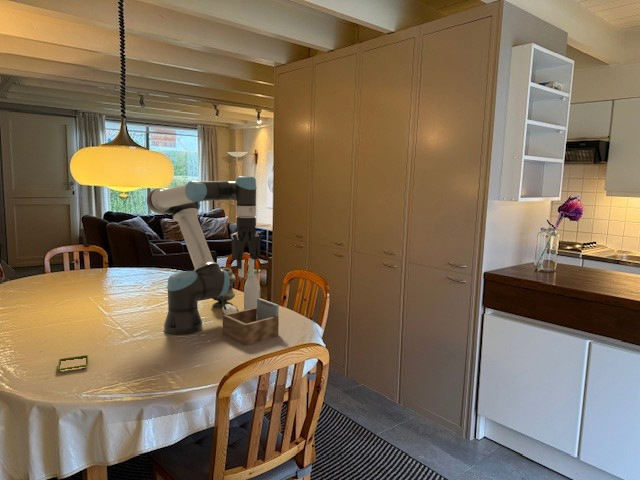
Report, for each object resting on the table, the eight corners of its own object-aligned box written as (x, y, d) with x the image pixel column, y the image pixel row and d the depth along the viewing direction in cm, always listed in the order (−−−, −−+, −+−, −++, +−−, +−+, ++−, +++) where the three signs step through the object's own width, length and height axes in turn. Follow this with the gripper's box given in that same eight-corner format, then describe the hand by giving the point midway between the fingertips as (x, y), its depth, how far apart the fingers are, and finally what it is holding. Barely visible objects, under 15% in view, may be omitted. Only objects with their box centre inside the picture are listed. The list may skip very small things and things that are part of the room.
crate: (245, 345, 166) (245, 325, 165) (222, 334, 178) (222, 315, 177) (278, 335, 177) (278, 316, 176) (255, 325, 189) (255, 307, 188)
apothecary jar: (227, 310, 209) (226, 273, 206) (205, 307, 213) (204, 271, 210) (239, 303, 220) (239, 268, 218) (218, 301, 224) (218, 266, 221)
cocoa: (237, 316, 200) (239, 291, 198) (240, 321, 195) (242, 296, 192) (216, 316, 196) (218, 291, 194) (218, 322, 191) (220, 296, 188)
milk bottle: (257, 314, 204) (257, 272, 201) (241, 313, 205) (241, 271, 202) (262, 309, 211) (262, 269, 208) (247, 308, 213) (247, 268, 210)
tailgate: (275, 329, 178) (275, 305, 177) (256, 321, 187) (256, 298, 186) (278, 328, 179) (278, 304, 178) (259, 320, 188) (259, 298, 187)
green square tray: (88, 360, 151) (88, 354, 151) (88, 370, 143) (88, 364, 143) (59, 364, 147) (58, 358, 147) (57, 375, 139) (57, 369, 139)
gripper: (232, 218, 161) (233, 280, 164) (269, 216, 173) (269, 274, 176) (221, 217, 166) (222, 277, 169) (258, 215, 178) (258, 271, 181)
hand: (246, 275), depth 173 cm, fingers open, 4 cm apart
